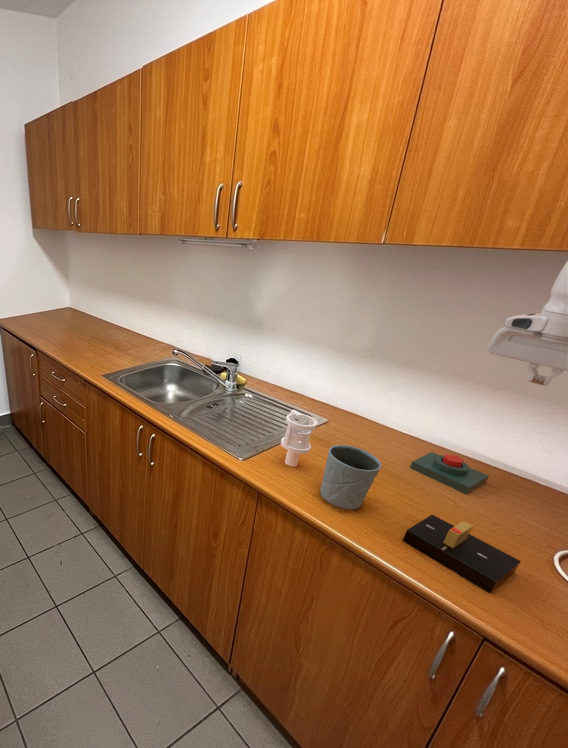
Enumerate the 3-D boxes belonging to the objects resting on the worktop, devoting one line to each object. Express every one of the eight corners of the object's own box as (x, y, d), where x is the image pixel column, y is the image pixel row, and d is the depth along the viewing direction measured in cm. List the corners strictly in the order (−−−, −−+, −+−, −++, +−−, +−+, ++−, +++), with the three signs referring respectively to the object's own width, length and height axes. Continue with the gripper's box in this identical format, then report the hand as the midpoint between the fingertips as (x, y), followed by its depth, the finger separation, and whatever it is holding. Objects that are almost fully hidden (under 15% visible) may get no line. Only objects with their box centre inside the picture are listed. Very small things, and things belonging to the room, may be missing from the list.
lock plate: (514, 572, 76) (521, 560, 75) (489, 593, 72) (496, 581, 71) (427, 524, 88) (432, 513, 86) (402, 540, 84) (407, 529, 82)
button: (463, 465, 101) (466, 460, 100) (456, 469, 100) (459, 463, 99) (446, 458, 104) (448, 452, 103) (439, 462, 103) (441, 456, 102)
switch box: (485, 482, 100) (492, 469, 99) (466, 494, 96) (472, 481, 95) (429, 458, 110) (434, 446, 109) (409, 468, 106) (414, 455, 105)
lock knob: (457, 533, 81) (463, 519, 80) (466, 539, 80) (474, 524, 78) (442, 543, 79) (449, 528, 78) (452, 548, 78) (459, 534, 76)
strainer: (292, 454, 113) (303, 408, 107) (311, 468, 107) (324, 420, 101) (271, 457, 112) (281, 411, 106) (289, 472, 105) (301, 423, 100)
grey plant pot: (316, 480, 102) (327, 440, 98) (363, 491, 98) (377, 451, 93) (318, 504, 94) (330, 462, 89) (370, 518, 90) (385, 474, 85)
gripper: (650, 335, 78) (614, 398, 84) (509, 313, 95) (487, 366, 101) (640, 340, 76) (603, 404, 81) (497, 317, 93) (475, 371, 98)
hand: (538, 383), depth 91 cm, fingers closed
